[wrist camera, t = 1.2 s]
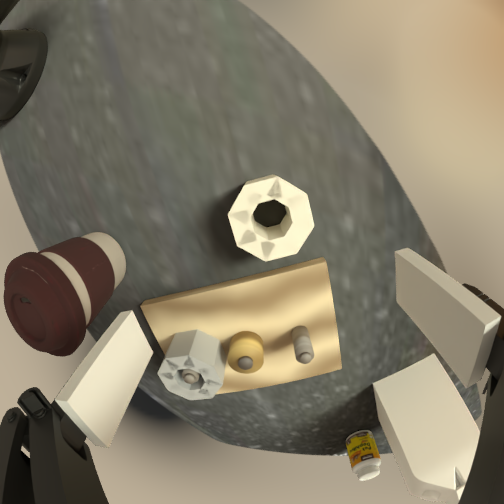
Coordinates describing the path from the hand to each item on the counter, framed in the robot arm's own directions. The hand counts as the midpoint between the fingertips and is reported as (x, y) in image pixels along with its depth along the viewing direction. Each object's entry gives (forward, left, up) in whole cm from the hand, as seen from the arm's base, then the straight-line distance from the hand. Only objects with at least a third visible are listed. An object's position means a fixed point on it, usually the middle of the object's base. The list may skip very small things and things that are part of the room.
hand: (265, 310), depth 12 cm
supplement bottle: (+45, +8, -18) cm, 49 cm away
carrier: (+13, -5, -17) cm, 22 cm away
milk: (+34, +17, -18) cm, 42 cm away
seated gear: (+13, -12, -16) cm, 24 cm away
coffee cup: (-1, -20, -18) cm, 26 cm away
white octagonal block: (-1, +1, -17) cm, 17 cm away
